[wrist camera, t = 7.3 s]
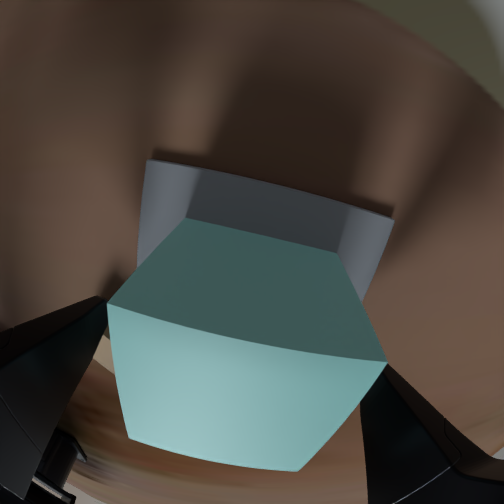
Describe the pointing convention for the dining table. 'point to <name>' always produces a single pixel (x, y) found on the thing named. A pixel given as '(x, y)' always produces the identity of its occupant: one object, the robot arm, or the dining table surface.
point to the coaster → (260, 215)
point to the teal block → (240, 347)
